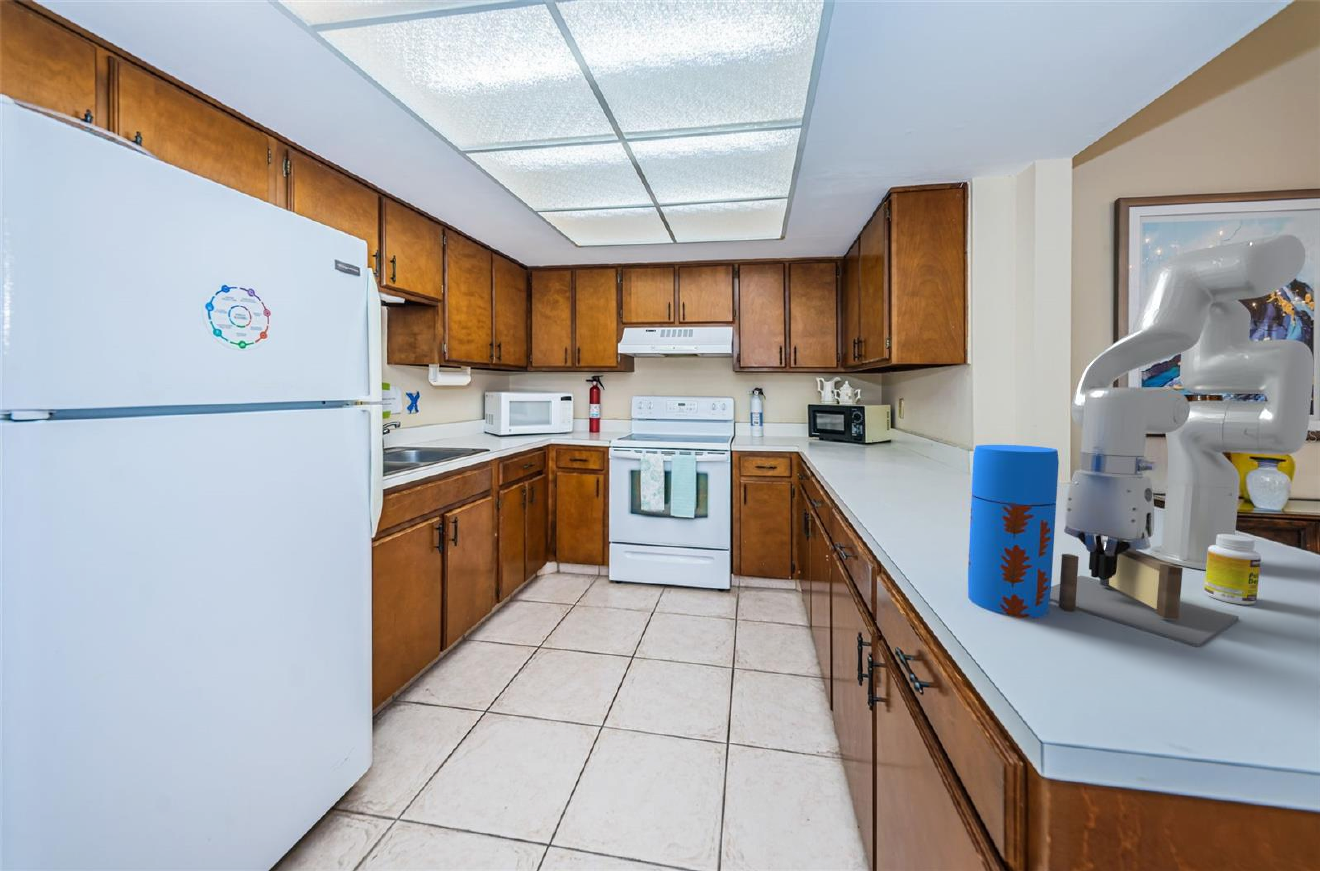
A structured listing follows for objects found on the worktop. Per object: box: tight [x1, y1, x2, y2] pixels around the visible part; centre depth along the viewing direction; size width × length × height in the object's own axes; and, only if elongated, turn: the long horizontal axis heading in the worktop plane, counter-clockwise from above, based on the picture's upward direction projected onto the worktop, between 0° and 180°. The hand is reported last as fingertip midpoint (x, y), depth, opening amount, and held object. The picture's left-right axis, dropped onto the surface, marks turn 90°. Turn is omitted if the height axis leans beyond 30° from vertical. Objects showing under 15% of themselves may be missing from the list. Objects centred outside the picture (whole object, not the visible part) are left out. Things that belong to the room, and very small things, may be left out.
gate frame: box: [1049, 553, 1239, 648], centre depth 76 cm, size 18×19×8 cm
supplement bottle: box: [1204, 534, 1262, 606], centre depth 79 cm, size 6×6×10 cm
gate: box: [1099, 539, 1184, 619], centre depth 77 cm, size 14×2×8 cm, turn 171°
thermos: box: [967, 444, 1060, 619], centre depth 78 cm, size 11×11×25 cm
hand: (1101, 576), depth 80 cm, fingers closed
